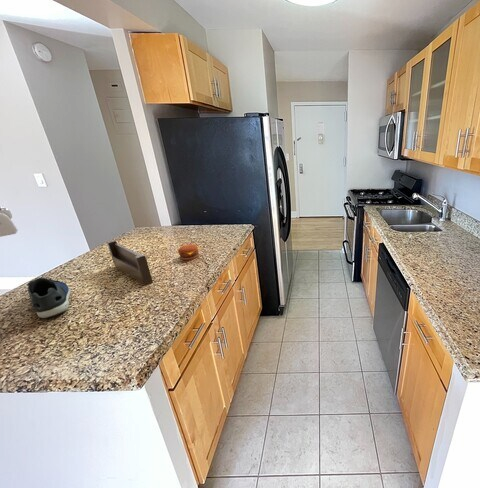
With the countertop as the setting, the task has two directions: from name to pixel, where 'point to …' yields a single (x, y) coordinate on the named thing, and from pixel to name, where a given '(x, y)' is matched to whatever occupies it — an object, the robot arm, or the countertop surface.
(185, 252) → the hamburger
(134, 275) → the dark brown channel tray
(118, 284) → the countertop surface
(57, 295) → the water shoe
